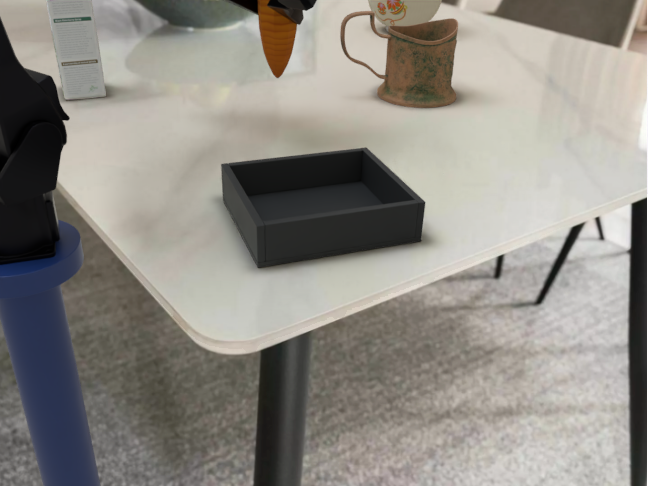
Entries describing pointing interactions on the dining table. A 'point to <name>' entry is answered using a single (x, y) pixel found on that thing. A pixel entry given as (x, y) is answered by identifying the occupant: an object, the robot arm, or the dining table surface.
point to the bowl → (404, 11)
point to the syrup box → (76, 48)
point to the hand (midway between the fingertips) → (284, 18)
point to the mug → (415, 62)
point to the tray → (319, 205)
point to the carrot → (276, 37)
